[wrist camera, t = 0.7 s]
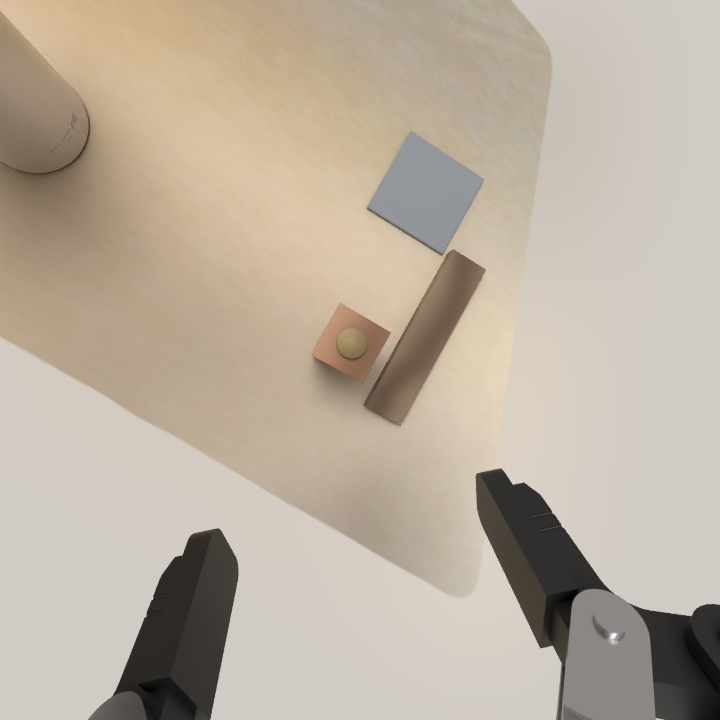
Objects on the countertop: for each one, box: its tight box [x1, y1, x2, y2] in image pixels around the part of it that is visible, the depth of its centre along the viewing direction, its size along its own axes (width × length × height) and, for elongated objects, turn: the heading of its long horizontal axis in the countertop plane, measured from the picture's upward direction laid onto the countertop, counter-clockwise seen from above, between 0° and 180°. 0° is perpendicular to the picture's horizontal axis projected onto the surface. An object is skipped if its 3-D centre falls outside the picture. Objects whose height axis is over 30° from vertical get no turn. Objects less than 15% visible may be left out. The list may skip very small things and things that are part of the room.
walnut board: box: [364, 249, 486, 426], centre depth 36 cm, size 4×18×2 cm, turn 150°
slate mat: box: [367, 131, 484, 255], centre depth 36 cm, size 9×9×1 cm
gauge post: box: [311, 303, 391, 384], centre depth 30 cm, size 4×4×13 cm
